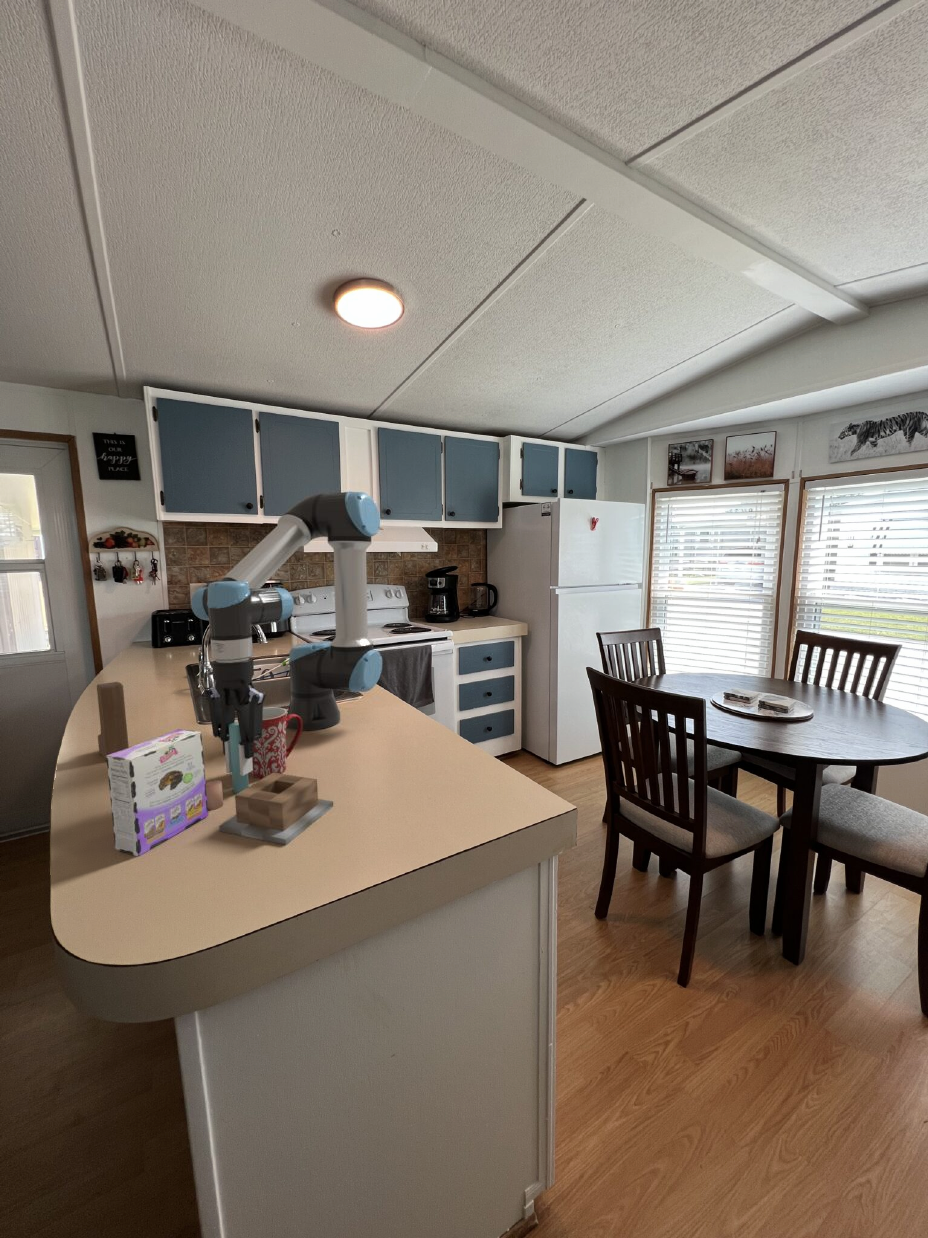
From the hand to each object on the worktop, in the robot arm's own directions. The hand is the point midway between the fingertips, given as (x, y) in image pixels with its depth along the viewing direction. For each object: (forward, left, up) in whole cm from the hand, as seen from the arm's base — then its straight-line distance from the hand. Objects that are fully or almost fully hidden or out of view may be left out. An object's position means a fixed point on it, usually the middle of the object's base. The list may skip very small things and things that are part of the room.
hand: (239, 771), depth 105 cm
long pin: (0, 0, -4) cm, 4 cm away
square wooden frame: (+7, +15, -4) cm, 17 cm away
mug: (-11, 0, -4) cm, 12 cm away
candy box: (+17, -1, -4) cm, 18 cm away
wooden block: (-6, -44, -4) cm, 45 cm away
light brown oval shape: (+7, 0, -4) cm, 8 cm away
